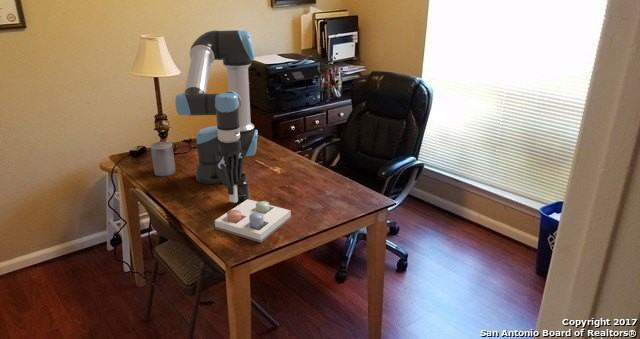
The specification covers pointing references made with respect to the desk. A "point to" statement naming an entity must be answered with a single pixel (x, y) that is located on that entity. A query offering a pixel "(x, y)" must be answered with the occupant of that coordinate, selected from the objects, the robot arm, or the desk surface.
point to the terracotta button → (234, 216)
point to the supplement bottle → (242, 190)
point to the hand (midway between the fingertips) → (233, 201)
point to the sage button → (262, 207)
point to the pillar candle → (163, 158)
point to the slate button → (256, 220)
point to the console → (242, 228)
